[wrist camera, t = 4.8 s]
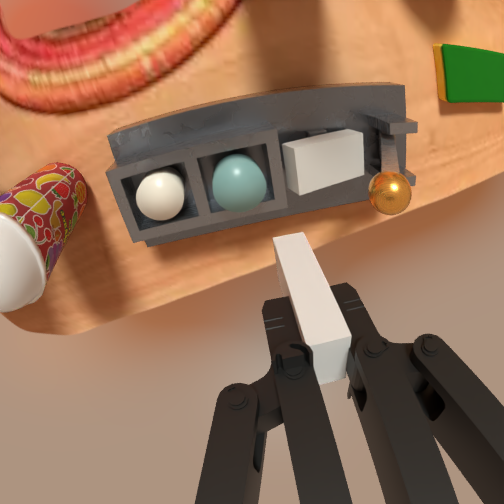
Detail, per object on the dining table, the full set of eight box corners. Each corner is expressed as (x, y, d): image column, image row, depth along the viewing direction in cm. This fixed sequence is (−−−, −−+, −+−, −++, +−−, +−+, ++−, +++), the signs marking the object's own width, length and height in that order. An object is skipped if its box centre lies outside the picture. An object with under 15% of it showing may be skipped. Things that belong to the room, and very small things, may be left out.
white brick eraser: (287, 187, 26) (299, 195, 24) (281, 143, 23) (294, 148, 22) (350, 168, 27) (364, 174, 26) (348, 128, 25) (362, 133, 23)
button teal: (218, 203, 25) (219, 217, 23) (207, 159, 23) (207, 169, 21) (264, 193, 26) (269, 206, 23) (256, 149, 23) (261, 157, 21)
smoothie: (81, 234, 31) (11, 381, 14) (26, 200, 27) (-73, 325, 11) (110, 174, 28) (17, 318, 11) (48, 138, 24) (-86, 242, 8)
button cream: (149, 212, 27) (145, 225, 25) (135, 173, 25) (129, 183, 23) (190, 201, 27) (189, 214, 25) (178, 160, 25) (176, 170, 23)
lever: (372, 159, 28) (366, 224, 19) (371, 127, 26) (367, 175, 17) (401, 161, 27) (410, 228, 18) (401, 128, 25) (415, 179, 16)
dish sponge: (499, 98, 27) (511, 103, 25) (436, 99, 27) (449, 103, 25) (496, 52, 23) (509, 54, 21) (430, 43, 23) (443, 43, 21)
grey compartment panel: (151, 232, 32) (141, 271, 26) (116, 129, 25) (91, 147, 20) (390, 182, 33) (424, 209, 27) (388, 82, 26) (429, 90, 20)
